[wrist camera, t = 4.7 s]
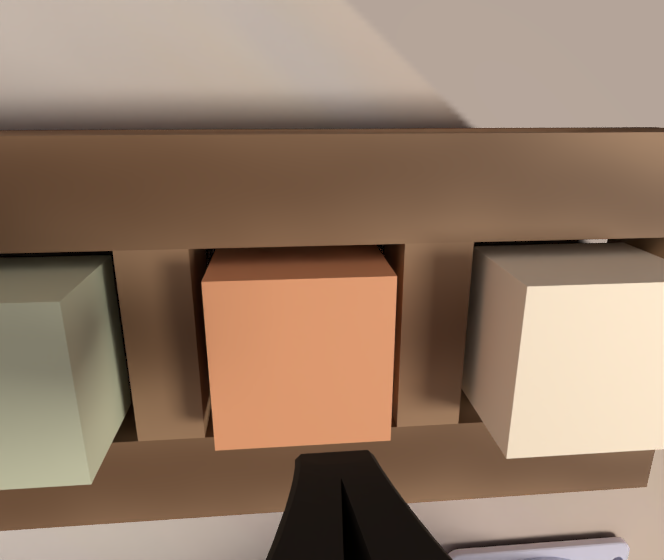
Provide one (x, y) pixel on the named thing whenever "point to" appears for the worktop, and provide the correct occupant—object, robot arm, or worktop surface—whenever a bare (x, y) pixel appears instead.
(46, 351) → the block
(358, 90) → the worktop surface
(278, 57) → the worktop surface
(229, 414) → the salmon pink cube
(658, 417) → the ivory cube
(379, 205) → the slotted board
